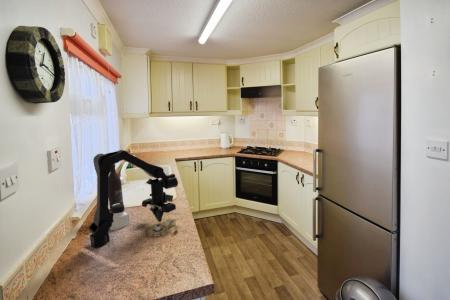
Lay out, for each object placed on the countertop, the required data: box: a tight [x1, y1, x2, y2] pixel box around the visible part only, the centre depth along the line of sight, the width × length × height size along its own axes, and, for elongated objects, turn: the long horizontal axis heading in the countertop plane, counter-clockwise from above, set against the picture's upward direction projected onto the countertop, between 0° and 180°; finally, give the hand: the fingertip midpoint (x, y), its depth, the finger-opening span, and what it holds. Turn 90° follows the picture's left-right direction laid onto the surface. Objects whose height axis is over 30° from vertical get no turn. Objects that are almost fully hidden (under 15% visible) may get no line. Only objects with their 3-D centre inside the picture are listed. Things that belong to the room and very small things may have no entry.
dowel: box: [173, 223, 179, 233], centre depth 121 cm, size 2×2×3 cm
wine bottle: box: [108, 163, 124, 211], centre depth 143 cm, size 7×7×30 cm
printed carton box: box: [109, 203, 130, 231], centre depth 130 cm, size 7×7×12 cm
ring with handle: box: [147, 217, 177, 238], centre depth 124 cm, size 15×9×3 cm, turn 145°
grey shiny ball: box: [153, 224, 162, 232], centre depth 121 cm, size 3×3×3 cm
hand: (159, 221), depth 131 cm, fingers closed
